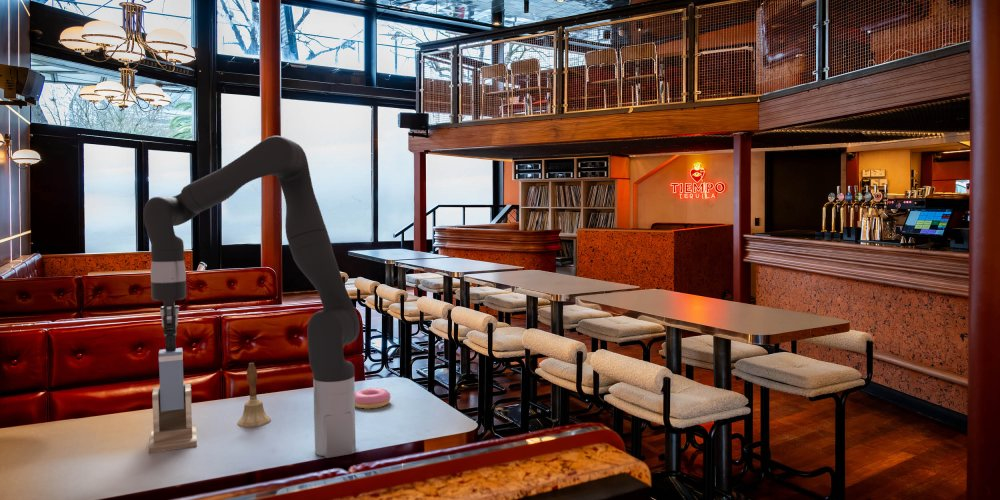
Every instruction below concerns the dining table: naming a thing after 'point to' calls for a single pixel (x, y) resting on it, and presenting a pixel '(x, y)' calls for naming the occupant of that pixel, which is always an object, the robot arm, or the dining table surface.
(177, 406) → the block
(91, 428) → the dining table surface
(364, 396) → the doughnut
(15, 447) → the dining table surface
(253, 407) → the hand bell
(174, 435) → the tan frame
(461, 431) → the dining table surface
